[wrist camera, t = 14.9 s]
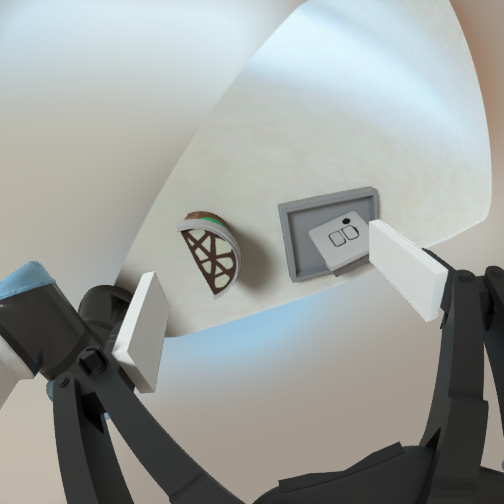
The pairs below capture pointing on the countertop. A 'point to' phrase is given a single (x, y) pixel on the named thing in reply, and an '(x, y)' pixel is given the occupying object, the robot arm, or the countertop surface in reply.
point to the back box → (313, 215)
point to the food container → (212, 249)
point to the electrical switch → (342, 242)
